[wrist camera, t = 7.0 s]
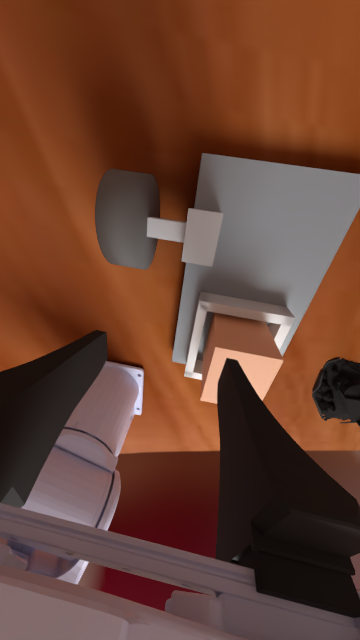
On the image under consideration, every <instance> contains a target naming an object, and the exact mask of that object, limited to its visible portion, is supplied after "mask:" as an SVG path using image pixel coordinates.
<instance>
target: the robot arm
mask: <svg viewBox="0 0 360 640" xmlns="http://www.w3.org/2000/svg"><path fill="white" fill-rule="evenodd" d="M107 359H108V355H107V334H106V332H103V331H99V330H96V331H93V332H91V333H89V334H87V335H86V336H84V337H82V338H80V339H78V340H76V341H74V342H72V343H70V344H68V345H66V346H64V347H62V348H60V349H58V350H56V351H53V352H51V353H49V354H47V355H45V356H42V357H40V358H38V359H35V360H33V361H30V362H28V363H25V364H22V365H20V366H17V367H14V368H11V369H8V370H5V371H1V372H0V640H360V589H357V590H356V588H355V585H354V583H353V580H352V577H351V575H355V570H354V567H353V565H352V562H351V559H350V557H351V556H353V555H356V554H358V553H360V506H359V504H358V502H357V500H356V499H355V498H354V497H353V496H352V495H351V494H350V493H348V492H347V491H346V490H345V489H344V488H342V486H340V485H339V484H338V483H337V482H336V481H335V480H334V479H333V478H331V477H330V476H329V475H328V474H327V473H326V472H325V471H324V470H323V469H322V468H321V467H320V466H319V465H318V464H317V463H316V462H314V460H313V459H312V458H310V457H309V456H308V455H307V454H306V452H305V451H304V450H303V449H302V448H301V447H300V446H299V445H298V444H297V443H296V442H295V441H294V440H293V439H292V438H291V436H290V435H289V434H288V433H287V432H286V431H285V430H284V429H283V427H282V426H281V425H280V424H279V423H278V421H277V420H276V419H275V418H274V416H273V415H272V414H271V413H270V411H269V410H268V409H267V407H266V406H265V404H264V403H263V401H262V400H261V399H260V397H259V396H258V394H257V393H256V391H255V389H254V388H253V386H252V385H251V383H250V381H249V380H248V378H247V376H246V374H245V373H244V371H243V369H242V367H241V366H240V364H239V362H238V360H235V359H230V358H226V361H225V364H224V367H223V369H222V372H221V375H220V378H219V380H218V388H217V406H218V419H219V432H220V486H219V508H218V527H217V544H216V558H215V559H213V558H209V557H205V556H201V555H197V554H193V553H190V552H185V551H182V550H178V549H175V548H171V547H167V546H163V545H159V544H155V543H152V542H148V541H144V540H140V539H136V538H133V537H129V536H125V535H121V534H117V533H114V532H110V531H107V530H108V527H109V525H110V523H111V520H112V518H113V515H114V512H115V509H116V506H117V503H118V499H119V494H120V489H121V482H120V473H119V471H117V470H115V467H116V464H117V461H118V458H117V456H118V455H119V453H120V450H121V448H122V445H123V443H124V440H125V437H126V435H127V432H128V429H129V427H130V424H131V422H132V419H133V416H134V414H136V415H141V413H142V401H143V382H144V370H143V369H142V368H139V367H134V366H129V365H124V364H119V363H114V362H109V361H106V360H107ZM140 374H141V375H140ZM88 562H91V563H95V564H99V565H102V566H106V567H110V568H114V569H117V570H121V571H125V572H129V573H132V574H136V575H140V576H143V577H147V578H151V579H154V580H158V581H162V582H166V583H169V584H173V585H176V586H180V587H184V588H188V589H191V590H195V591H198V592H202V593H206V594H210V595H213V596H216V597H213V596H209V595H204V594H197V593H190V592H183V591H174V592H173V593H172V597H171V599H168V600H167V602H166V606H165V612H163V611H160V610H157V609H154V608H151V607H148V606H145V605H142V604H138V603H136V602H133V601H129V600H126V599H123V598H120V597H116V596H114V595H111V594H107V593H104V592H101V591H97V590H94V589H91V588H87V587H84V586H80V585H77V584H78V582H79V580H80V578H81V576H82V574H83V572H84V570H85V568H86V566H87V564H88Z"/></svg>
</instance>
